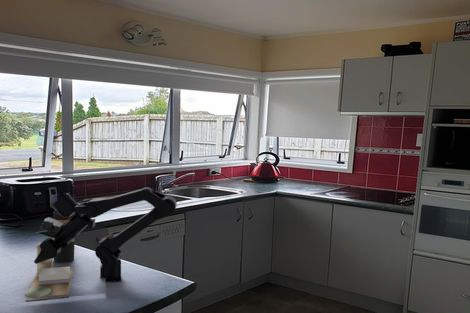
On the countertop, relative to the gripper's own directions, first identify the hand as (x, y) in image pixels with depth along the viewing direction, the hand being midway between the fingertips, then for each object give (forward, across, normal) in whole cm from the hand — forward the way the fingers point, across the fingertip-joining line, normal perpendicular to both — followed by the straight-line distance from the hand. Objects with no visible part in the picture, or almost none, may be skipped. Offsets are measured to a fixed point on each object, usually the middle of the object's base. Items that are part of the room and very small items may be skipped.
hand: (40, 258), depth 141 cm
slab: (-1, +6, +9) cm, 11 cm away
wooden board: (+1, +7, +9) cm, 12 cm away
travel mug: (+4, -16, +7) cm, 18 cm away
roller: (+3, 0, +5) cm, 6 cm away
